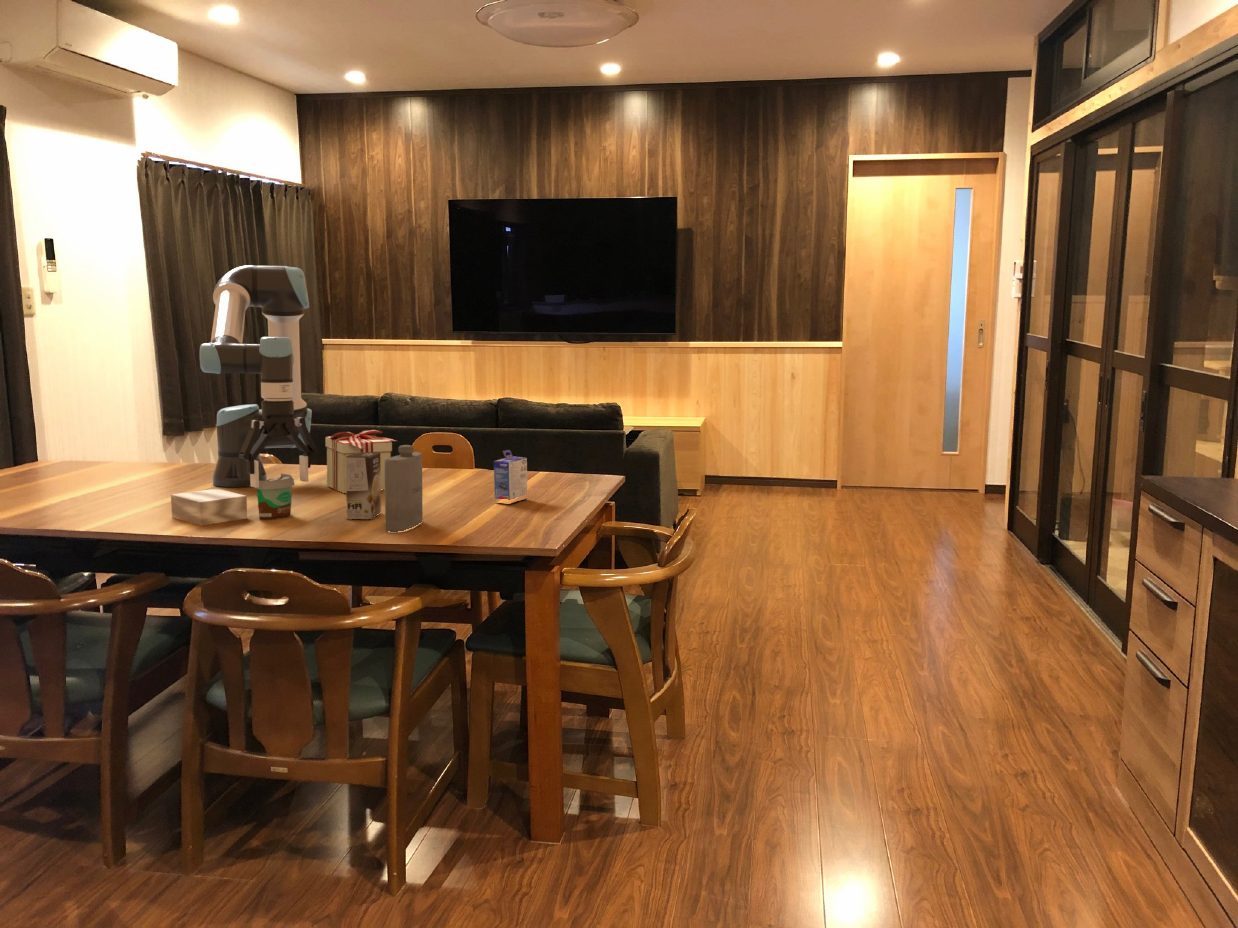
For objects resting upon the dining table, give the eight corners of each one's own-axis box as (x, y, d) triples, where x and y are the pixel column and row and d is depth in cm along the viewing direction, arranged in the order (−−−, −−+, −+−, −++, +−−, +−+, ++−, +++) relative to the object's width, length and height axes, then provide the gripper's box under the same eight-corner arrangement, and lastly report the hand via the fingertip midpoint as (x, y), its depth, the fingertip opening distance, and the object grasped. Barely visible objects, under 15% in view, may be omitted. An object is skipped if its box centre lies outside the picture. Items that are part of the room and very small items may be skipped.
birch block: (217, 511, 246) (216, 488, 245) (247, 519, 237) (246, 495, 236) (172, 518, 237) (170, 494, 236) (201, 526, 228) (200, 502, 227)
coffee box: (371, 520, 238) (370, 457, 235) (346, 519, 238) (345, 456, 236) (381, 513, 247) (380, 452, 245) (357, 512, 247) (356, 451, 245)
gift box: (350, 496, 268) (348, 436, 266) (322, 487, 282) (320, 429, 280) (404, 490, 280) (403, 432, 277) (374, 481, 293) (374, 426, 291)
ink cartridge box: (511, 497, 272) (511, 447, 270) (528, 499, 270) (528, 449, 268) (492, 503, 264) (493, 451, 261) (509, 505, 261) (510, 453, 259)
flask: (405, 534, 224) (404, 450, 221) (382, 532, 225) (381, 449, 222) (428, 521, 239) (428, 442, 236) (406, 520, 240) (405, 441, 237)
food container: (278, 522, 233) (277, 482, 232) (256, 520, 235) (254, 480, 233) (304, 512, 245) (303, 474, 244) (283, 511, 246) (282, 473, 245)
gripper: (237, 402, 224) (240, 491, 226) (330, 398, 243) (331, 480, 245) (221, 400, 228) (224, 487, 231) (313, 396, 247) (315, 477, 250)
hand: (280, 484), depth 238 cm, fingers open, 13 cm apart
